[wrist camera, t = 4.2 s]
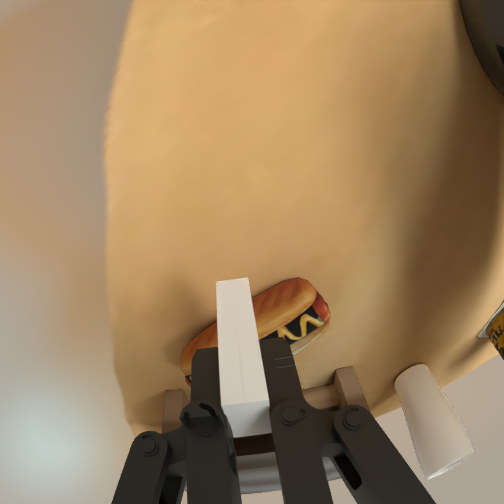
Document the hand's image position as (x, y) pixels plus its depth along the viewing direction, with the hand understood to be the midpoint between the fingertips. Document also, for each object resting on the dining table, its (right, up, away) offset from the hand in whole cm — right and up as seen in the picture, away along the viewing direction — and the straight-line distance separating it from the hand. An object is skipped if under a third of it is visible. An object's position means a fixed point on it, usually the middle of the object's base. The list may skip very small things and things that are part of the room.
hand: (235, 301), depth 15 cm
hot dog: (+1, -3, +11) cm, 11 cm away
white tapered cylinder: (+22, -14, +20) cm, 33 cm away
